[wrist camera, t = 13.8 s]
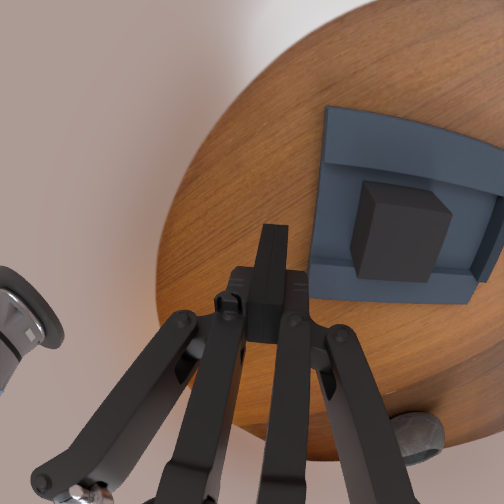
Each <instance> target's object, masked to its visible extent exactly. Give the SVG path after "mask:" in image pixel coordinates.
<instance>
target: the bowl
mask: <svg viewBox="0 0 504 504" xmlns="http://www.w3.org/2000/svg"><path fill="white" fill-rule="evenodd" d="M390 422H391V425H392V428H393V430H394V433H395V436H396V439H397V442H398V445H399V448H400V451H401V454H402V457H403V460H404V463H405V466H411V465H415V464H417V463H421V462H424V461H426V460H428V459H430V458H432V457H434V456H436V455H438V454H439V453H440V452H441V451H442V449H443V447H444V443H445V432H444V428H443V425H442V423H441V422H440V420H439V419H438V418H437V417H436V416H434V415H432V414H429V413H425V412H410V413H406V414H402V415H399V416H396V417H394V418H392V419H390Z"/></svg>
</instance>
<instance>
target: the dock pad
mask: <svg viewBox="0 0 504 504" xmlns="http://www.w3.org/2000/svg"><path fill="white" fill-rule="evenodd" d="M363 180H366V181H373V182H380V183H387V184H394V185H400V186H406V187H412V188H418V189H423V190H429V191H432V192H433V193H434V194H435V195H436V196H437V197H438V198H439V199H440V201H441V202H442V203H443V204H444V205H445V206H446V207H447V208H448V209H449V210H450V211H451V213H452V214H453V216H452V219H451V222H450V225H449V228H448V231H447V234H446V237H445V240H444V242H443V245H442V248H441V250H440V253H439V256H438V258H437V261H436V263H435V266H434V268H433V270H432V273H431V275H430V277H429V280H428V282H427V283H417V282H400V281H384V280H369V279H357V276H356V271H355V267H354V263H353V259H352V255H351V251H350V244H351V239H352V235H353V230H354V225H355V220H356V215H357V210H358V205H359V199H360V193H361V188H362V182H363ZM503 246H504V150H503V149H501V148H498V147H496V146H493V145H491V144H488V143H485V142H483V141H480V140H477V139H474V138H471V137H468V136H465V135H462V134H459V133H456V132H453V131H449V130H446V129H443V128H439V127H435V126H432V125H428V124H424V123H420V122H416V121H412V120H408V119H403V118H399V117H394V116H389V115H384V114H379V113H373V112H368V111H362V110H355V109H348V108H341V107H333V106H325V114H324V128H323V140H322V152H321V163H320V173H319V182H318V192H317V200H316V209H315V217H314V225H313V232H312V240H311V247H310V254H309V261H308V268H307V274H306V275H307V276H308V278H309V298H316V299H330V300H347V301H365V302H386V303H414V304H468V302H469V300H470V299H471V297H472V295H473V293H474V291H475V289H476V287H477V286H478V284H479V282H484V283H486V282H487V280H488V278H489V276H490V274H491V272H492V270H493V268H494V266H495V264H496V262H497V260H498V258H499V255H500V253H501V251H502V249H503Z"/></svg>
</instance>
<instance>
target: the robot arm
mask: <svg viewBox="0 0 504 504" xmlns="http://www.w3.org/2000/svg"><path fill="white" fill-rule="evenodd" d="M287 243H288V225H275V224H263V228H262V232H261V237H260V242H259V246H258V251H257V256H256V260H255V265H254V267H243V266H237V267H236V268H235V269H234V270H233V271H232V272H231V275H230V278H229V282H228V285H227V288H226V291H223V292H220V293H219V294H217V295H216V297H215V298H214V304H215V312H214V313H212V314H210V315H205V316H196V314H195V313H194V312H192V311H190V310H179V311H177V312H174V313H173V314H172V315H171V316H170V317H169V318H168V319H167V321H166V322H165V323H164V324H163V326H162V327H161V328H160V329H159V331H158V332H157V333H156V335H155V336H154V337H153V338H152V340H151V341H150V342H149V343H148V345H147V346H146V347H145V348H144V350H143V351H142V352H141V354H140V355H139V356H138V357H137V359H136V360H135V361H134V362H133V364H132V365H131V367H130V368H129V369H128V371H126V373H125V374H124V375H123V377H122V378H121V379H120V381H119V382H118V383H117V384H116V386H115V387H114V388H113V390H112V391H111V392H110V394H109V395H108V396H107V398H106V399H105V400H104V401H103V403H102V404H101V405H100V407H99V408H98V409H97V411H96V412H95V413H94V415H93V416H92V417H91V419H90V420H89V421H88V423H87V424H86V426H85V427H84V428H83V429H82V431H81V432H80V433H79V435H78V436H77V438H76V439H75V440H74V442H73V443H72V444H71V446H70V447H69V449H67V450H66V451H64V452H62V453H61V454H59V455H58V456H56V457H54V458H53V459H51V460H50V461H48V462H46V463H44V464H43V465H41V466H39V467H38V468H36V469H35V470H34V471H33V472H32V474H31V486H32V488H33V490H34V491H35V493H36V494H37V495H38V496H40V497H41V498H44V499H47V500H50V501H53V502H54V504H114V500H113V496H112V494H111V493H112V492H114V491H115V490H116V489H117V488H118V487H119V486H120V485H121V484H122V483H123V482H124V481H125V480H126V478H127V477H128V476H129V474H130V473H131V471H132V470H133V468H134V466H135V465H136V463H137V462H138V460H139V459H140V457H141V456H142V454H143V453H144V451H145V450H146V448H147V447H148V445H149V444H150V442H151V440H152V439H153V437H154V436H155V434H156V433H157V431H158V430H159V428H160V426H161V425H162V423H163V422H164V420H165V419H166V417H167V416H168V414H169V413H170V411H171V409H172V408H173V406H174V405H175V403H176V401H177V400H178V398H179V397H180V395H181V393H182V392H183V390H184V389H185V387H186V386H187V384H188V383H189V381H190V380H191V378H192V376H193V375H194V373H195V372H196V370H197V368H198V367H199V368H198V371H197V374H196V378H195V381H194V384H193V388H192V391H191V395H190V398H189V401H188V405H187V408H186V412H185V415H184V419H183V422H182V425H181V429H180V432H179V436H178V439H177V443H176V446H175V450H174V453H173V456H172V458H171V460H170V461H169V462H168V463H167V464H166V465H165V467H164V470H163V473H162V477H161V480H160V483H159V487H158V491H157V494H156V497H154V498H152V499H150V500H148V501H146V502H144V503H143V504H217V501H218V497H219V490H220V480H221V474H222V469H223V464H224V460H225V455H226V449H227V445H228V440H229V435H230V430H231V424H232V420H233V414H234V409H235V404H236V399H237V394H238V389H239V384H240V378H241V373H242V368H243V363H244V357H245V352H246V340H247V341H248V342H257V343H267V344H278V345H277V353H276V361H275V371H274V380H273V388H272V396H271V404H270V412H269V420H268V427H267V435H266V442H265V449H264V456H263V463H262V470H261V476H260V483H259V488H258V494H257V500H256V504H305V500H306V481H305V469H306V468H305V467H306V456H307V442H308V425H309V403H310V371H311V368H312V369H315V370H316V373H317V377H318V380H319V384H320V387H321V391H322V395H323V398H324V402H325V406H326V409H327V413H328V417H329V421H330V424H331V428H332V432H333V436H334V440H335V444H336V448H337V452H338V455H339V459H340V463H341V468H342V472H343V476H344V480H345V483H346V488H347V492H348V497H349V501H350V504H420V503H419V502H418V501H417V499H416V498H415V496H414V493H413V490H412V486H411V483H410V479H409V476H408V473H407V470H406V466H405V463H404V460H403V457H402V454H401V451H400V448H399V445H398V442H397V439H396V436H395V433H394V430H393V428H392V425H391V422H390V419H389V416H388V414H387V411H386V408H385V406H384V403H383V400H382V398H381V395H380V392H379V390H378V387H377V385H376V382H375V380H374V377H373V375H372V372H371V370H370V367H369V365H368V362H367V360H366V357H365V355H364V352H363V350H362V348H361V345H360V343H359V341H358V338H357V336H356V334H355V332H354V331H353V329H351V328H350V327H349V326H346V325H343V324H336V325H333V326H331V327H330V328H326V327H323V326H320V325H318V324H316V323H315V322H314V321H313V320H312V319H311V317H310V315H309V278H308V276H307V275H306V273H305V271H297V270H286V258H287ZM46 335H47V331H46V328H45V326H44V324H43V322H42V320H41V319H40V317H39V316H38V315H37V313H36V312H35V311H34V309H33V308H32V307H31V306H30V305H29V304H28V303H27V302H26V301H25V300H24V299H23V298H22V297H21V296H20V295H19V294H18V293H16V292H15V291H14V290H12V289H10V288H8V287H6V286H1V287H0V396H1V394H2V393H3V392H4V389H5V387H6V385H7V383H8V382H9V380H10V378H11V376H12V374H13V372H14V371H15V369H16V368H17V366H18V364H19V362H20V361H21V359H22V358H23V356H24V355H25V354H27V353H28V352H30V351H31V350H32V349H34V348H35V347H36V346H37V345H39V344H40V343H41V342H43V340H44V339H45V337H46Z"/></svg>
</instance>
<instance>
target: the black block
mask: <svg viewBox="0 0 504 504" xmlns="http://www.w3.org/2000/svg"><path fill="white" fill-rule="evenodd" d="M452 216H453V214H452V213H451V211H450V210H449V209H448V208H447V207H446V206H445V205H444V204H443V203H442V202H441V201H440V199H439V198H438V197H437V196H436V195H435V194H434V193H433V192H432V191H429V190H423V189H418V188H412V187H406V186H400V185H394V184H387V183H380V182H373V181H366V180H363V182H362V188H361V193H360V199H359V205H358V210H357V215H356V220H355V225H354V230H353V235H352V239H351V244H350V251H351V255H352V259H353V263H354V267H355V271H356V276H357V279H369V280H384V281H400V282H417V283H427V282H428V280H429V277H430V275H431V273H432V270H433V268H434V266H435V263H436V261H437V258H438V256H439V253H440V250H441V248H442V245H443V242H444V240H445V237H446V234H447V231H448V228H449V225H450V222H451V219H452Z"/></svg>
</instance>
